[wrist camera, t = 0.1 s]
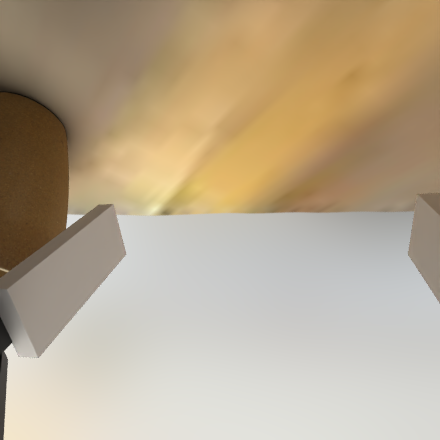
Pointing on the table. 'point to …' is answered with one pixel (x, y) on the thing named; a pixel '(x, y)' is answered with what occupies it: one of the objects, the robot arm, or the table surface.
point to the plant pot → (30, 178)
